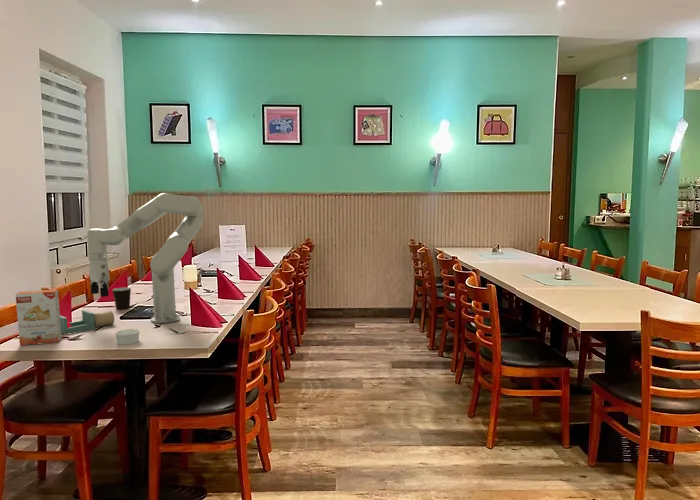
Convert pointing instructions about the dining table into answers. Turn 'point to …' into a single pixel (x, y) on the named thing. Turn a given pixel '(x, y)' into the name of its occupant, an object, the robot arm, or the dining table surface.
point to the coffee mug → (122, 298)
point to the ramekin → (127, 336)
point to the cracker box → (38, 316)
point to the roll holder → (78, 323)
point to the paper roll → (103, 318)
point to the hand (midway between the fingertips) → (99, 295)
